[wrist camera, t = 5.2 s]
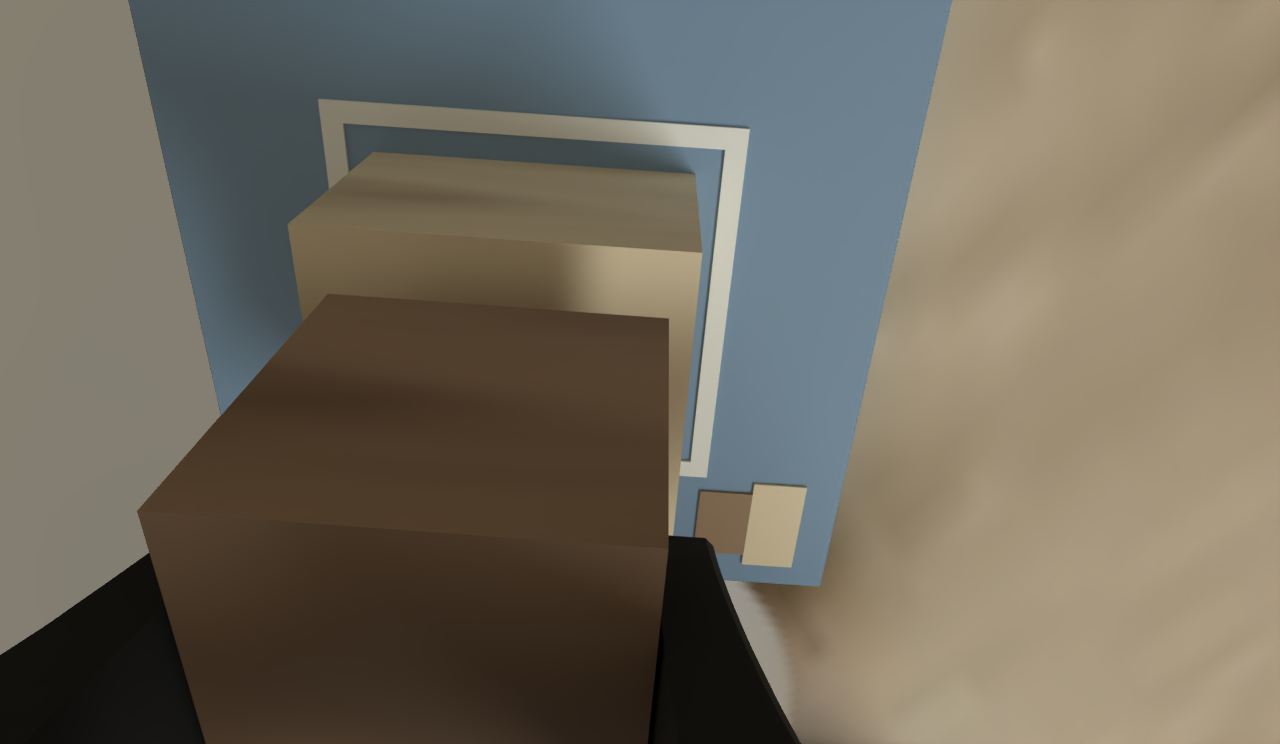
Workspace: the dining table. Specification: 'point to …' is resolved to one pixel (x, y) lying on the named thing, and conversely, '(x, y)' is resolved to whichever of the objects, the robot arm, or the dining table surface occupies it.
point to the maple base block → (513, 245)
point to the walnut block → (427, 531)
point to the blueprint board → (594, 137)
